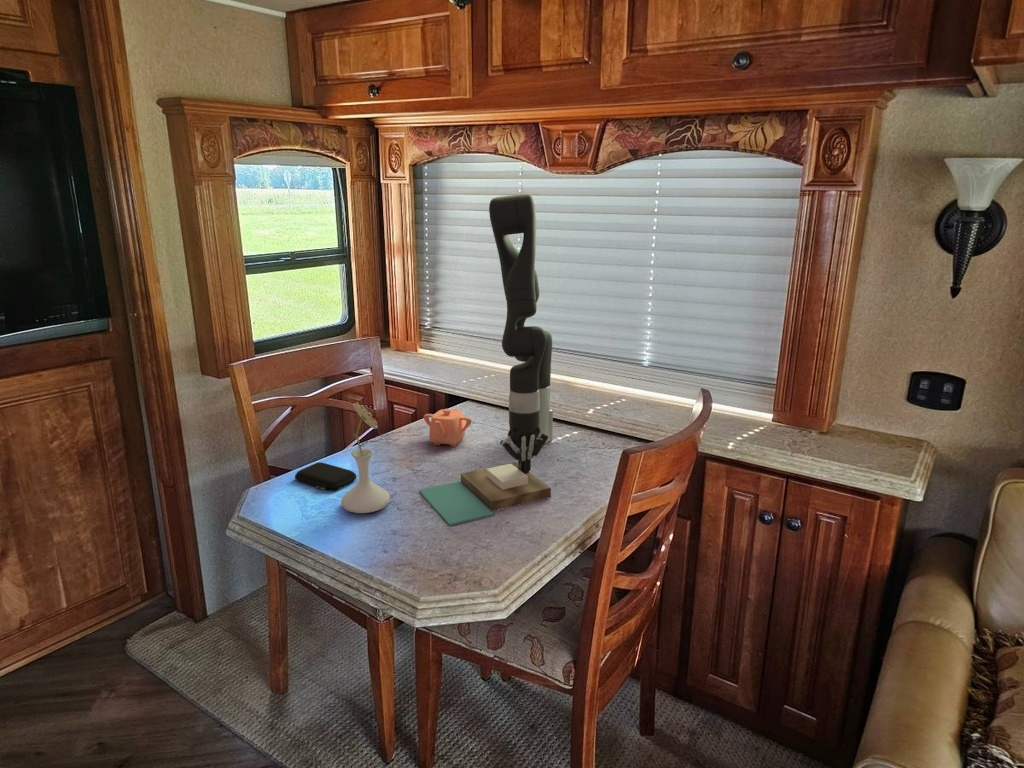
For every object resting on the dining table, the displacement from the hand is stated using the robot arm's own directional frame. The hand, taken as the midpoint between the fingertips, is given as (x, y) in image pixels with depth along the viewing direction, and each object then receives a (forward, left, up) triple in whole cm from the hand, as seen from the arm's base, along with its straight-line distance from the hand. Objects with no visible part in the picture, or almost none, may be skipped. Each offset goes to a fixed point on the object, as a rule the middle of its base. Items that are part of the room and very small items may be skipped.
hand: (524, 472), depth 171 cm
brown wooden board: (+5, 0, -4) cm, 7 cm away
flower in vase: (+38, -8, -4) cm, 40 cm away
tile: (+5, 0, -1) cm, 5 cm away
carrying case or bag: (+44, -27, -4) cm, 52 cm away
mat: (+19, +1, -4) cm, 20 cm away
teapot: (+5, -37, -4) cm, 38 cm away
